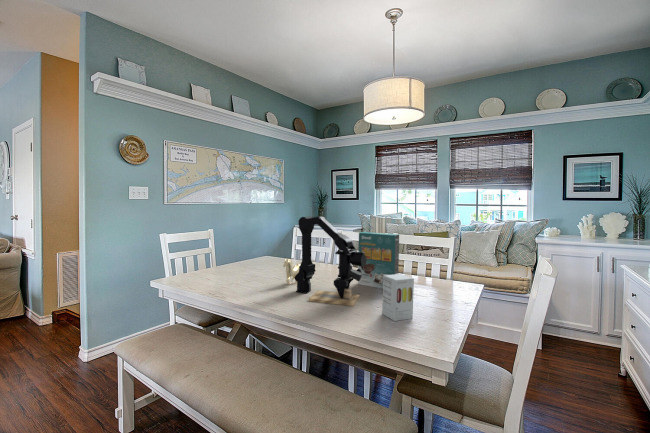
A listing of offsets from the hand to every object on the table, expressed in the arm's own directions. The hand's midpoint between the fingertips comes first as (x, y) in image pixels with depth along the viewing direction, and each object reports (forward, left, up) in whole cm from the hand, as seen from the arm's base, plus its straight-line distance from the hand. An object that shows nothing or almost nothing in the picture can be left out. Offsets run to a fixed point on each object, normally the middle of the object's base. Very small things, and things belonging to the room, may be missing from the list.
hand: (344, 295), depth 150 cm
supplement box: (+26, -13, -2) cm, 29 cm away
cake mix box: (+12, +31, -2) cm, 33 cm away
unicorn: (-35, +18, -2) cm, 39 cm away
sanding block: (0, 0, -1) cm, 1 cm away
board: (-5, 0, -2) cm, 5 cm away
